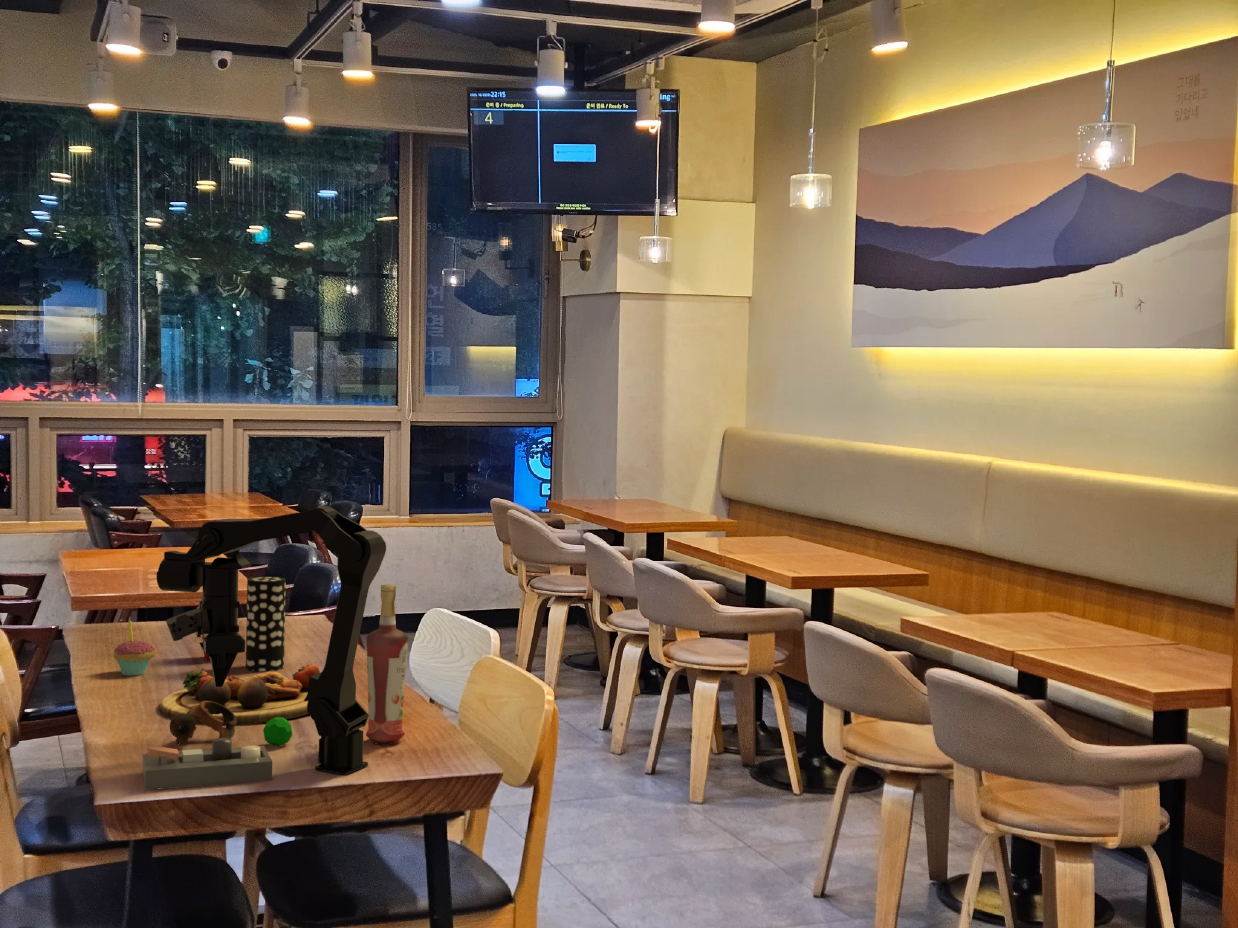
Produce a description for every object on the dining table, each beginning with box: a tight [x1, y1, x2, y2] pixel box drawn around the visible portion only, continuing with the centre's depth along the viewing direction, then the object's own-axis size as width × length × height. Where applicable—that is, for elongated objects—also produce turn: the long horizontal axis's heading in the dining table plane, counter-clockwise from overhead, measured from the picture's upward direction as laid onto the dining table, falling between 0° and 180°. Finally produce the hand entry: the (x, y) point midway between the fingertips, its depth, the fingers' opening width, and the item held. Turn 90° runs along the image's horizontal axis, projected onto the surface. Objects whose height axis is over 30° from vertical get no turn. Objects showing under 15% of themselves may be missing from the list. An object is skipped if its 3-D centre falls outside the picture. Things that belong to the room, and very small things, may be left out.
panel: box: [141, 745, 273, 791], centre depth 211 cm, size 19×10×4 cm, turn 113°
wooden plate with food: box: [159, 663, 321, 725], centre depth 260 cm, size 32×32×8 cm
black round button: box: [211, 737, 233, 761], centre depth 212 cm, size 3×3×3 cm
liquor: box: [365, 584, 409, 746], centre depth 235 cm, size 7×7×28 cm
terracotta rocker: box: [147, 744, 179, 760], centre depth 209 cm, size 4×3×1 cm, turn 112°
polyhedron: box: [262, 717, 293, 747], centre depth 231 cm, size 5×5×5 cm
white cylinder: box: [241, 745, 260, 759], centre depth 214 cm, size 3×3×3 cm
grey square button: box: [181, 748, 203, 763], centre depth 210 cm, size 3×3×3 cm
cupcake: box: [113, 617, 157, 677], centre depth 287 cm, size 9×8×12 cm
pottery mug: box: [169, 701, 237, 745], centre depth 231 cm, size 12×10×8 cm
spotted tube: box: [245, 576, 287, 672], centre depth 296 cm, size 8×8×20 cm
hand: (218, 686), depth 222 cm, fingers closed
